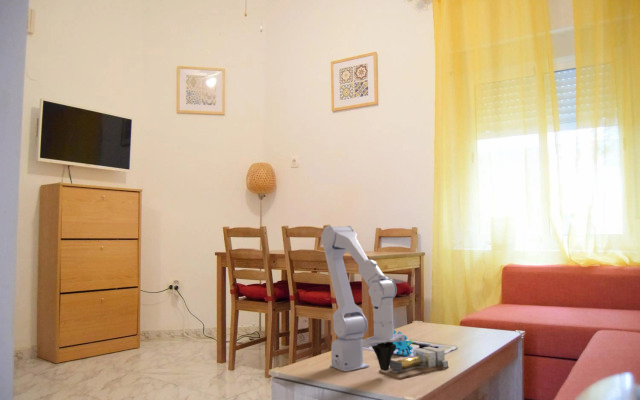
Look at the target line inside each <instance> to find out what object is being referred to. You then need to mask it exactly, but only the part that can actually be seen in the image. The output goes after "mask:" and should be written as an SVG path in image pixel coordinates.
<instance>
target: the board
mask: <svg viewBox="0 0 640 400" xmlns="http://www.w3.org/2000/svg"><path fill="white" fill-rule="evenodd" d="M445 369H449V365H448V366H447V367H441V366H436V367H433V368H426V362H423V363H421V364H420V365H416V366H412V367H408V368H403V369H402V371H397V370H394V369H391V368H390V367H389V370H387V371H384V370H381V369H378V373H379V374H382V375H386V376H389V377H391V378H395V379H397V380H404V379H408V378H412V377H416V376H421V375H424V374H428V373H432V372H436V371H441V370H445Z"/></svg>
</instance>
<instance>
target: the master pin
mask: <svg viewBox="0 0 640 400" xmlns="http://www.w3.org/2000/svg"><path fill="white" fill-rule="evenodd" d="M421 363H422V360H421V358H420V357H419V356H416V357H414V356H412V357H407V358H403V359H399V360H397V359H396V360H395V359H394V360H393V359H391V361H390V365H389V368H391V369H394V370H397V371H402V369H403V368H408V367H412V366H416V365H420V364H421Z"/></svg>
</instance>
